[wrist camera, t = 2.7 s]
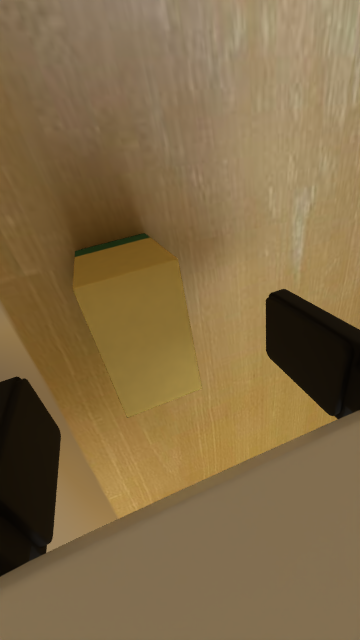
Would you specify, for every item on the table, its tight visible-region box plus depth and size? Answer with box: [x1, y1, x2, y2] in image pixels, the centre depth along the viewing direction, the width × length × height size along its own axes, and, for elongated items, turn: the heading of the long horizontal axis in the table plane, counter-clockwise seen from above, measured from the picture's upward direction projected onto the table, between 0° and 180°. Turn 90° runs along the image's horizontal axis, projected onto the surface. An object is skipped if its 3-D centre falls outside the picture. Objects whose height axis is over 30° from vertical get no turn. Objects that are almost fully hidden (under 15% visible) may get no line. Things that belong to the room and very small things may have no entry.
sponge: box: [73, 233, 202, 418], centre depth 14 cm, size 4×7×6 cm, turn 10°
